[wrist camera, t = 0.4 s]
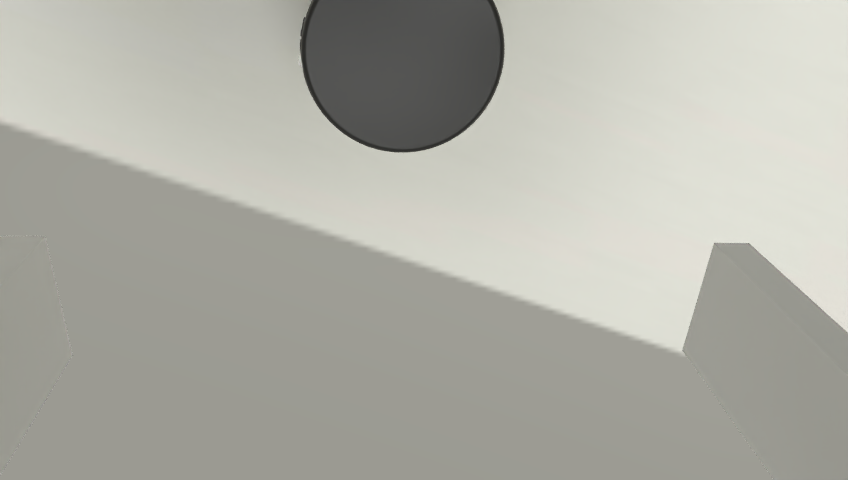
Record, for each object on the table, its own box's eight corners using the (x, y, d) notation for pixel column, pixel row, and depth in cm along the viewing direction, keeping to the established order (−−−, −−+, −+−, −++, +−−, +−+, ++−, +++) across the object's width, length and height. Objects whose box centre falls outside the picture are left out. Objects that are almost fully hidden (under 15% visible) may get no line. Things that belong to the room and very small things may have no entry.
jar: (278, -5, 36) (246, 38, 25) (392, -114, 34) (409, -117, 24) (387, 116, 40) (398, 198, 29) (495, 24, 38) (550, 75, 27)
